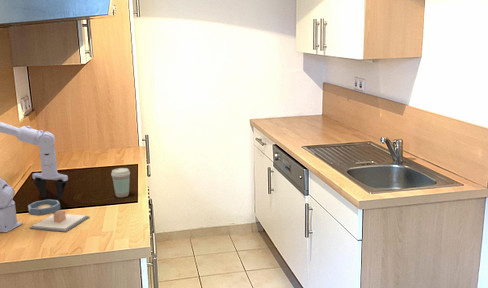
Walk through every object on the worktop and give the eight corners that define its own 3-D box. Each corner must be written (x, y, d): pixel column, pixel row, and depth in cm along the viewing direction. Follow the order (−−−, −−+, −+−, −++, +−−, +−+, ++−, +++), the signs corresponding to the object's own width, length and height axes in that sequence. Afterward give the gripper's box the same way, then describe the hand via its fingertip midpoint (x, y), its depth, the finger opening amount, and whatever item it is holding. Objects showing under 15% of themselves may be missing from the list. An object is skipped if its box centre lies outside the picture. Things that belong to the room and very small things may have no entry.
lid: (65, 229, 190) (64, 219, 189) (33, 227, 194) (32, 216, 193) (85, 217, 203) (84, 207, 203) (55, 214, 207) (54, 204, 206)
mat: (66, 232, 189) (65, 231, 189) (29, 228, 193) (29, 227, 193) (89, 217, 204) (89, 216, 204) (55, 214, 208) (55, 213, 208)
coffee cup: (124, 191, 238) (122, 166, 235) (135, 194, 232) (133, 169, 230) (108, 196, 231) (106, 170, 229) (120, 199, 226) (118, 173, 223)
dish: (48, 215, 207) (47, 210, 207) (23, 213, 210) (22, 208, 210) (65, 206, 218) (64, 200, 218) (41, 204, 221) (40, 199, 221)
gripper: (71, 162, 197) (74, 195, 199) (39, 160, 200) (42, 192, 203) (60, 166, 190) (63, 201, 193) (27, 164, 194) (31, 198, 197)
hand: (52, 197), depth 198 cm, fingers open, 7 cm apart
